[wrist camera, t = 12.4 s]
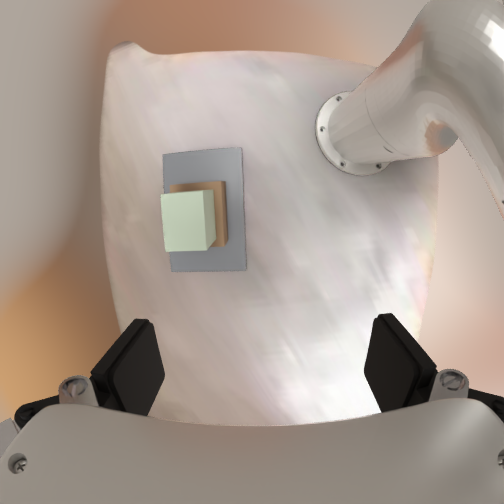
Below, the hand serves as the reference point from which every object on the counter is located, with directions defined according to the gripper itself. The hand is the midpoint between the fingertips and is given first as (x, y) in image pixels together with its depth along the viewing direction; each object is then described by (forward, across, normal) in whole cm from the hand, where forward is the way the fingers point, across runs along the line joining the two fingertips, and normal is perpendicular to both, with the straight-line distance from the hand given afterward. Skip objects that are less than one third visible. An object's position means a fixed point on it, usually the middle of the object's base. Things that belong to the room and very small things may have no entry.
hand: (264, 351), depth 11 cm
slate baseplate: (+28, +8, -3) cm, 30 cm away
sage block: (+23, +8, -3) cm, 25 cm away
